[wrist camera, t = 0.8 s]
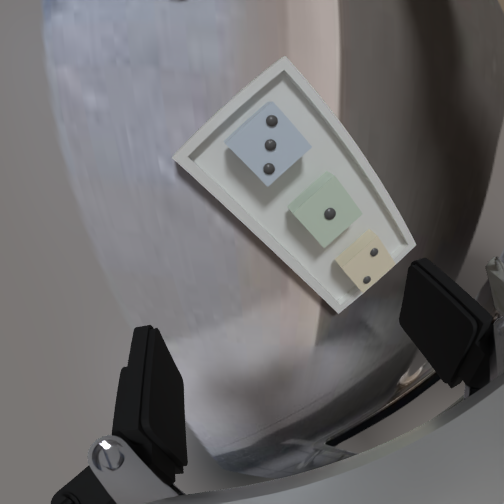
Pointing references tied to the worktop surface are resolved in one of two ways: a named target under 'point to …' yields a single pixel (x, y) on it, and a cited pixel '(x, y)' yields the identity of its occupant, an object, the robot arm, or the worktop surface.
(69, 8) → the worktop surface
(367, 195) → the key panel
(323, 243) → the key one dot
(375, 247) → the key two dots
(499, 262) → the geiger counter
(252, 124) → the key three dots
